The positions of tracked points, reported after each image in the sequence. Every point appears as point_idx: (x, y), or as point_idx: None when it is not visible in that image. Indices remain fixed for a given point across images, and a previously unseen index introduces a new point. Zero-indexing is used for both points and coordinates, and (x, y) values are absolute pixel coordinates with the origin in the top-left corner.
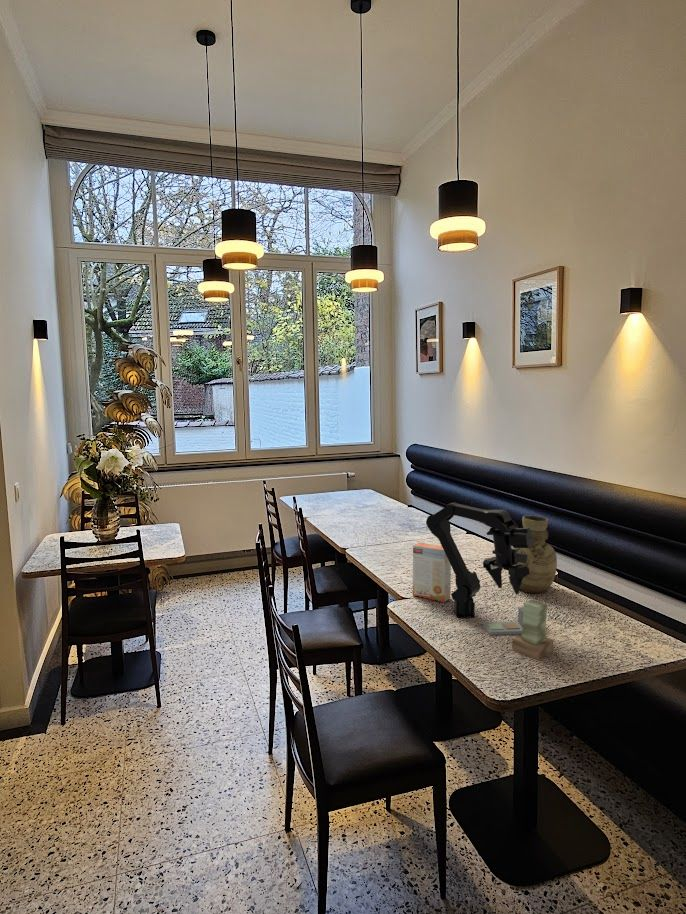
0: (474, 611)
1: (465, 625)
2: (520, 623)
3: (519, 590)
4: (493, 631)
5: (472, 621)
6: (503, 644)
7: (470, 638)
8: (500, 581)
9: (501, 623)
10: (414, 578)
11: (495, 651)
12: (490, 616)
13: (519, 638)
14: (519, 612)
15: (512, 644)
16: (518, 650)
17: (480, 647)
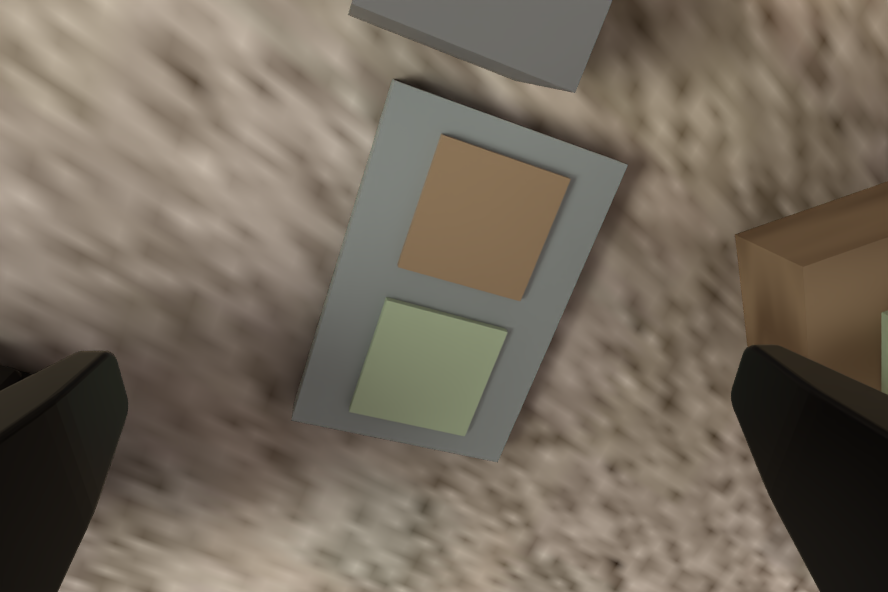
0: (7, 380)
1: (247, 528)
2: (433, 47)
3: (849, 380)
4: (500, 429)
5: (179, 442)
6: (668, 436)
7: (478, 586)
8: (21, 483)
9: (380, 269)
10: None
11: (713, 530)
12: (97, 212)
13: None
14: (400, 27)
15: None
16: None
17: (621, 584)
